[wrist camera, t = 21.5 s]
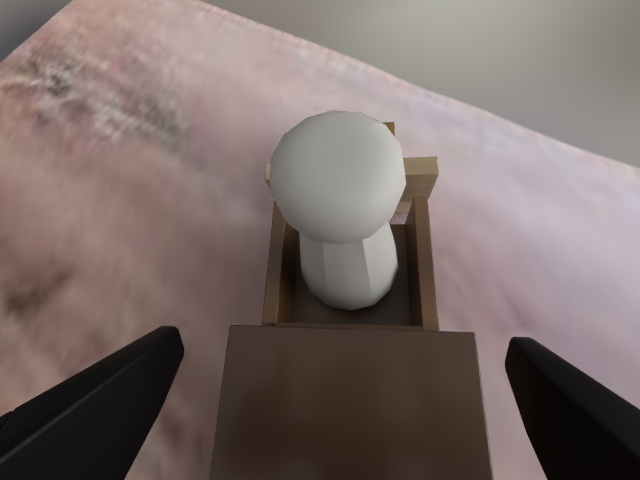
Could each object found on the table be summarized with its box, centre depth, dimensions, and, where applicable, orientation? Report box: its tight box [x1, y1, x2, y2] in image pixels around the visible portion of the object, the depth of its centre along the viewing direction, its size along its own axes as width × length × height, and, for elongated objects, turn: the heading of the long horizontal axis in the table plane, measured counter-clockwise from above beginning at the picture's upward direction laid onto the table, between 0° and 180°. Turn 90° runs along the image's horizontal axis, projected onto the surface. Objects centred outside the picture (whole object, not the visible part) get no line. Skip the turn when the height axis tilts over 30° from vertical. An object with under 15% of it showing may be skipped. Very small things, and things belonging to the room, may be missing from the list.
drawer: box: [262, 122, 439, 331], centre depth 21 cm, size 15×10×5 cm
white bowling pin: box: [269, 110, 406, 310], centre depth 15 cm, size 6×6×13 cm
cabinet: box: [209, 325, 494, 480], centre depth 16 cm, size 12×12×7 cm
